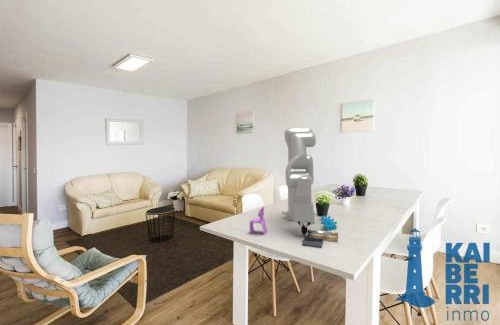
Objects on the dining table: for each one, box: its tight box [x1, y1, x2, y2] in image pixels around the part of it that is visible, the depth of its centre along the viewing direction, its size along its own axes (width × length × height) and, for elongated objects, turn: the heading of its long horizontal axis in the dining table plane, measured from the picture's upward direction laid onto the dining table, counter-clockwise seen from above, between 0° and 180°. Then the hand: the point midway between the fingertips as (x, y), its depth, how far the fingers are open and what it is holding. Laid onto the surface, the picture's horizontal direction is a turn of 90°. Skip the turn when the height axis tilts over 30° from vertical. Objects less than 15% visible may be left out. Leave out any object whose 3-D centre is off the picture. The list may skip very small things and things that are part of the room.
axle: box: [307, 229, 333, 237], centre depth 131 cm, size 12×3×3 cm, turn 69°
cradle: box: [301, 235, 324, 249], centre depth 121 cm, size 9×7×3 cm
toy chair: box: [249, 206, 269, 236], centre depth 140 cm, size 8×9×15 cm
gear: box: [319, 214, 338, 232], centre depth 145 cm, size 11×6×10 cm
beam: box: [309, 229, 339, 243], centre depth 129 cm, size 13×8×3 cm, turn 68°
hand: (304, 233), depth 133 cm, fingers closed
